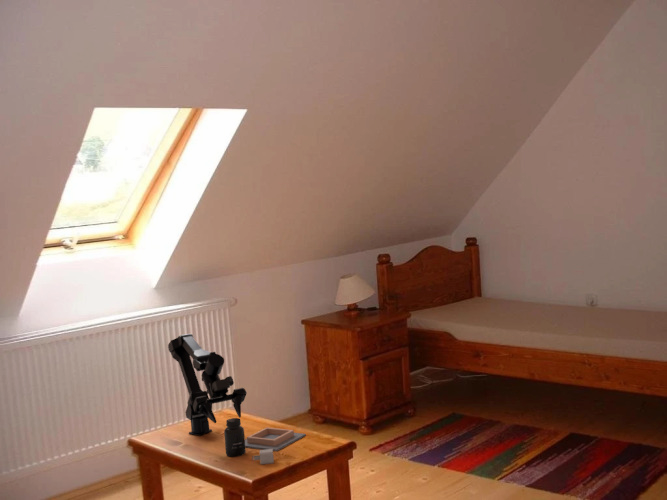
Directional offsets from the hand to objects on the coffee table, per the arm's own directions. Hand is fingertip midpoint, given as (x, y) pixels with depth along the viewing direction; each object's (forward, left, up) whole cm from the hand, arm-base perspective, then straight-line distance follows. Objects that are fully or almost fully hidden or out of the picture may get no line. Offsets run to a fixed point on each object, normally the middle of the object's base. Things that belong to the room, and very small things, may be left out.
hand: (228, 419), depth 277 cm
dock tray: (+6, +14, -11) cm, 19 cm away
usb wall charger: (+19, -5, -11) cm, 23 cm away
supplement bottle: (+4, -2, -11) cm, 12 cm away
